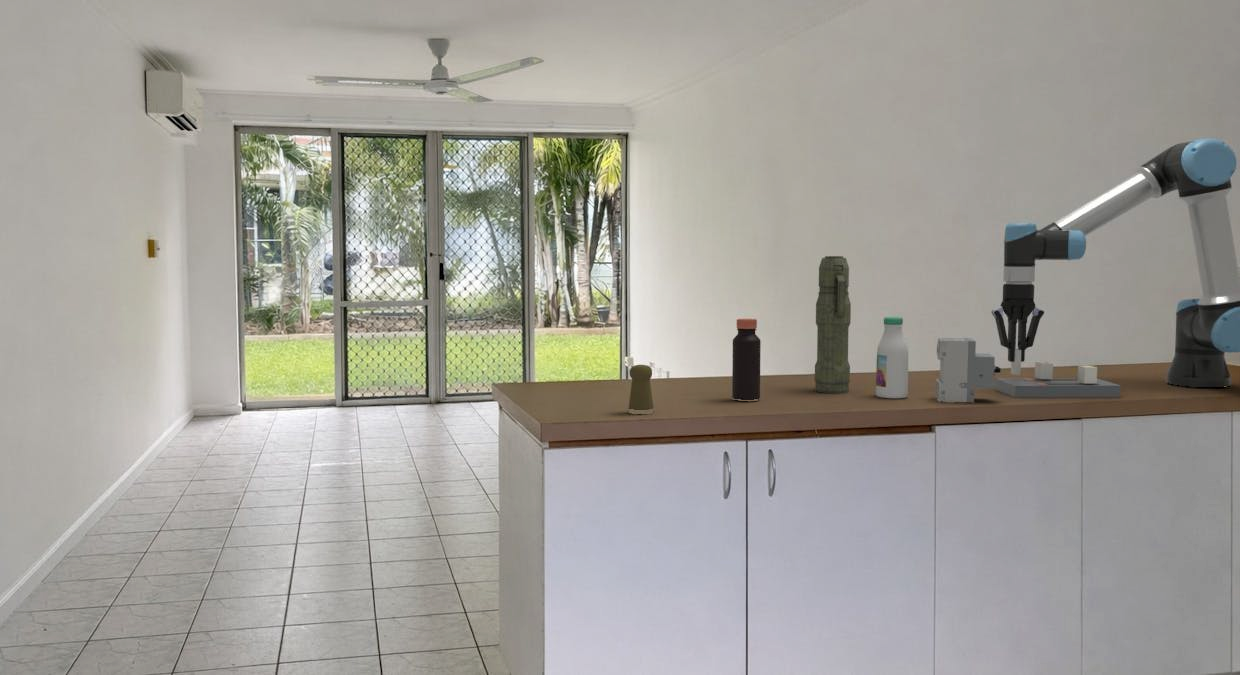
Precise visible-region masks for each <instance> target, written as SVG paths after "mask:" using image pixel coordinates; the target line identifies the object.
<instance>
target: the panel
mask: <svg viewBox="0 0 1240 675" xmlns="http://www.w3.org/2000/svg"><path fill="white" fill-rule="evenodd" d="M994 388H995V390H996V391H998V392H1000V393H1002V394H1005V395H1007V396H1010V397H1012V398H1016V399H1017V398H1019V399H1021V398H1023V399H1025V398H1026V399H1031V398H1033V399H1037V398H1038V399H1039V398H1040V399H1041V398H1043V399H1044V398H1045V399H1046V398H1048V399H1049V398H1051V399H1053V398H1055V399H1058V398H1060V399H1061V398H1062V399H1063V398H1064V399H1065V398H1068V399H1069V398H1072V399H1073V398H1074V399H1075V398H1078V399H1079V398H1080V399H1081V398H1085V399H1086V398H1093V399H1094V398H1107V399H1108V398H1111V399H1113V398H1116V399H1117V398H1119V399H1120V398H1121V388H1122V386H1121V385H1120V384H1117V383H1114V382H1110V381H1107V380H1103V379H1100V378H1097V383H1081V382H1078V377H1053V379H1039V378H1036V377H996V378H995V380H994Z"/></svg>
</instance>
